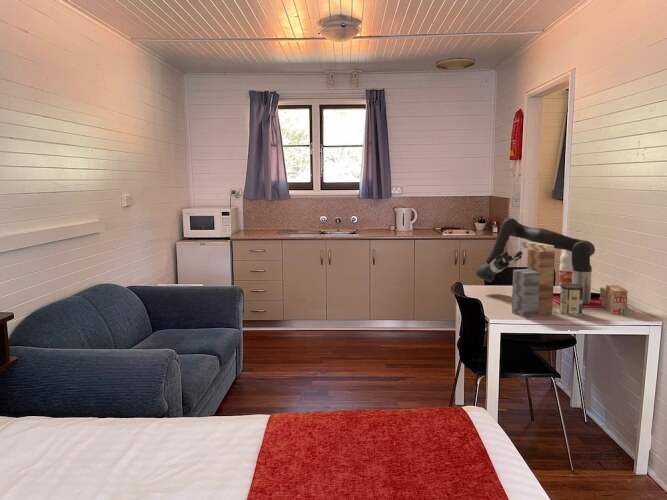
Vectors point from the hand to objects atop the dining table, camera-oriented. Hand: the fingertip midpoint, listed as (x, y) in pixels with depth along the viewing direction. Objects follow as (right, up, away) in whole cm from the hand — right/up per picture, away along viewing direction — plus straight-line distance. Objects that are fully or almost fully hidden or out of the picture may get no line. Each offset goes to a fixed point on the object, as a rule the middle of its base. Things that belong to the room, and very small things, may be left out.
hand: (514, 253), depth 275 cm
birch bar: (+5, +2, -19) cm, 19 cm away
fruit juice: (+44, -23, +35) cm, 61 cm away
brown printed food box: (+46, -29, -11) cm, 56 cm away
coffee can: (+22, -30, -18) cm, 41 cm away
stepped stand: (+2, -30, -18) cm, 36 cm away
